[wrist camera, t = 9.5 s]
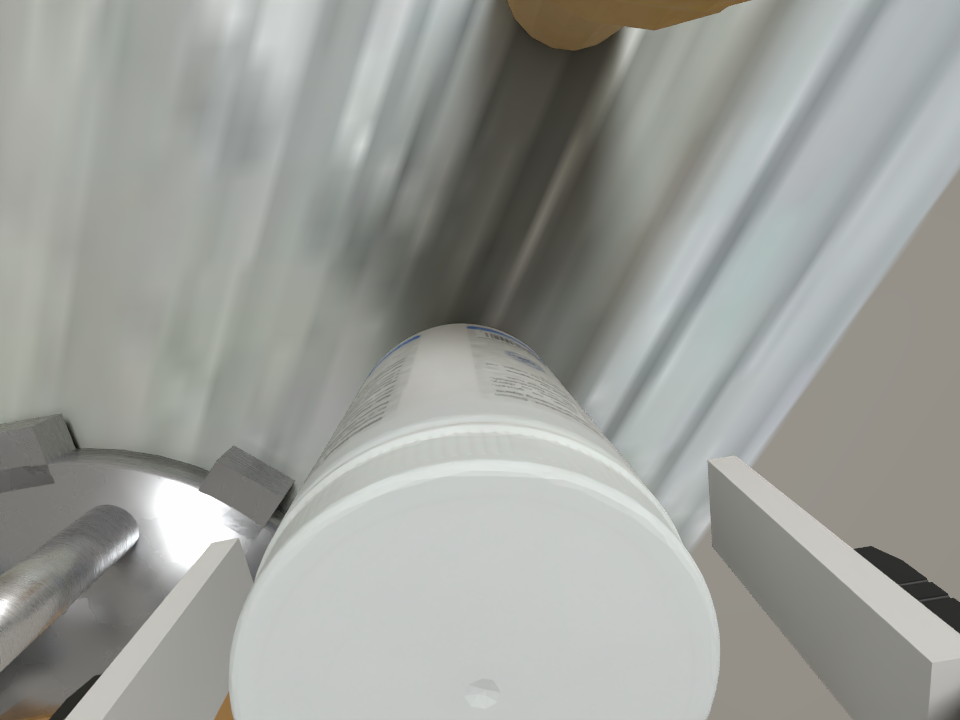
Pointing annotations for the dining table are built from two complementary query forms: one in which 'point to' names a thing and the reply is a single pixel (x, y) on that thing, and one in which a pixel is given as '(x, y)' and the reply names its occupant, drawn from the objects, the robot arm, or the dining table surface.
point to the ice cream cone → (604, 17)
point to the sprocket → (105, 550)
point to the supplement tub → (473, 560)
